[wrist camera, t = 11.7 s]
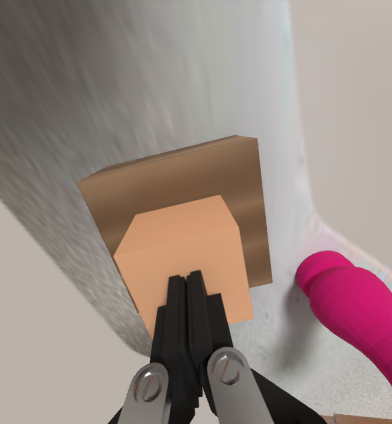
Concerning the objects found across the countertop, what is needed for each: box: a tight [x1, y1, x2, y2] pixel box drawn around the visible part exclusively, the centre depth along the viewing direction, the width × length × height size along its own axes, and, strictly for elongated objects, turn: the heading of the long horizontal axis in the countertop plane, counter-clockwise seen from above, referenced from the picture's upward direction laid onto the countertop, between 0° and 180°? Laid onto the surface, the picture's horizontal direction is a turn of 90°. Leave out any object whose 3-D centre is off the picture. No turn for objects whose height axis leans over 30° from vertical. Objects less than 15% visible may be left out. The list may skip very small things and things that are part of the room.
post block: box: [77, 135, 273, 313], centre depth 18 cm, size 12×12×6 cm
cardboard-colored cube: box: [113, 195, 254, 341], centre depth 13 cm, size 6×6×5 cm
